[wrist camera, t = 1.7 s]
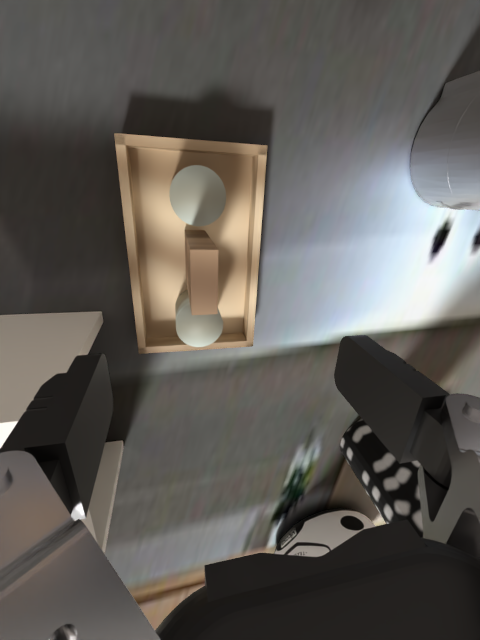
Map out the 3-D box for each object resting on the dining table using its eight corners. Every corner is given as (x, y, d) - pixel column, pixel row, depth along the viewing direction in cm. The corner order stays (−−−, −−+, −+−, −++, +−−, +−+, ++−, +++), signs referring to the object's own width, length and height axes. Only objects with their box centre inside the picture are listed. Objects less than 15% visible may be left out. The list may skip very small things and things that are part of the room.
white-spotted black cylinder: (334, 463, 41) (459, 678, 23) (347, 416, 37) (506, 627, 20) (386, 455, 43) (539, 650, 25) (403, 411, 39) (594, 598, 22)
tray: (120, 138, 21) (90, 113, 13) (258, 149, 23) (301, 132, 15) (141, 339, 27) (130, 400, 20) (246, 333, 29) (272, 386, 22)
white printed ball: (270, 509, 42) (330, 707, 26) (377, 487, 46) (488, 651, 30) (264, 575, 50) (308, 761, 34) (357, 551, 53) (437, 711, 37)
